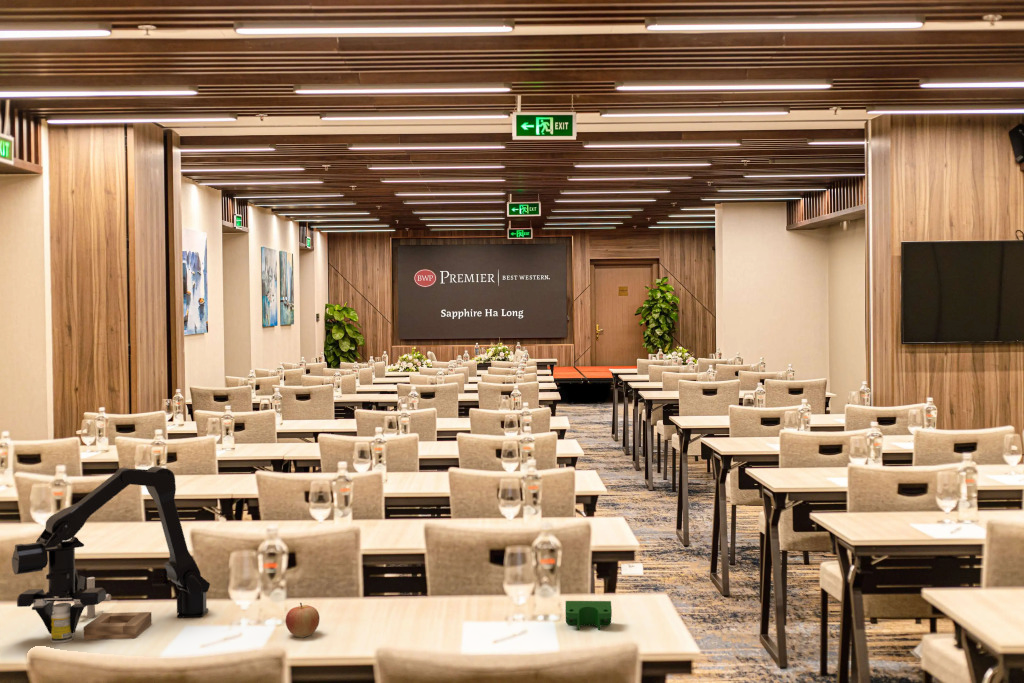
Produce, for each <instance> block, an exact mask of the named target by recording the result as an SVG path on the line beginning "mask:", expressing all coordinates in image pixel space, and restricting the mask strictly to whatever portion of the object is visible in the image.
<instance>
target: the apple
mask: <svg viewBox="0 0 1024 683" xmlns="http://www.w3.org/2000/svg"><path fill="white" fill-rule="evenodd" d="M319 624H320V613H319V611H318V610H317V608H315V607H314V606H311V605H308V604H303V603H302V602H299V605H298V606H296V607H293V608H291V609H289V610H288V611H287V614H286V616H285V626H286V628H287V630H288V631H289V633H290V634H292V635H293V636H295V637H297V638H305V637H306V638H307V637H308V636H311V635H313V633H315V632H316V630H317V629H318V627H319Z"/></svg>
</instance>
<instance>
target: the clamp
mask: <svg viewBox="0 0 1024 683" xmlns="http://www.w3.org/2000/svg"><path fill="white" fill-rule="evenodd" d="M612 610H613V609H612V601H611V600H565V623H566V624H567V625H568V626H576V630H577V631H580V628H581V626H596V627H597V631H601V626H605V627H606V626H607V627H608V626H609V625H610V624H612V616H613V615H612V614H613V613H612V612H613V611H612Z"/></svg>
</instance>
